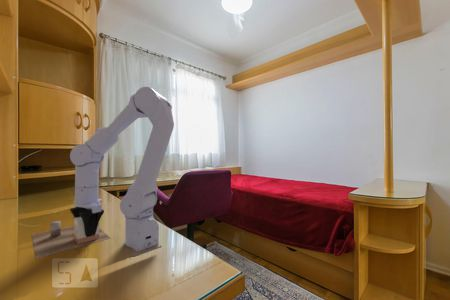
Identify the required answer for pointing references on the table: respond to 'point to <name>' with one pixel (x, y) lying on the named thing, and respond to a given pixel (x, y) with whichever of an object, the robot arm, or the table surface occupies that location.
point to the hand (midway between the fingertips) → (86, 233)
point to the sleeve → (82, 231)
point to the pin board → (59, 240)
